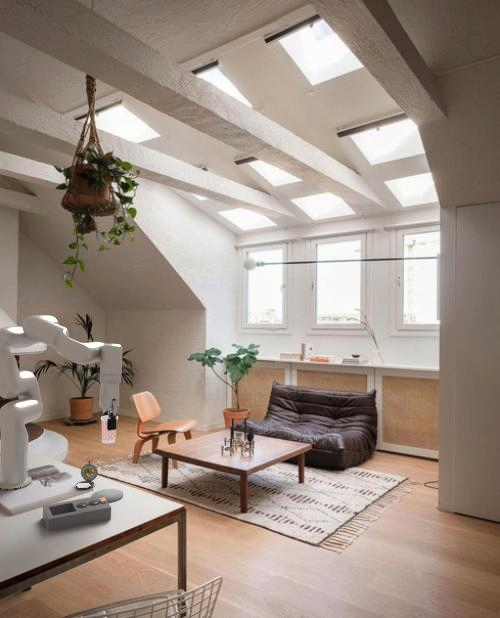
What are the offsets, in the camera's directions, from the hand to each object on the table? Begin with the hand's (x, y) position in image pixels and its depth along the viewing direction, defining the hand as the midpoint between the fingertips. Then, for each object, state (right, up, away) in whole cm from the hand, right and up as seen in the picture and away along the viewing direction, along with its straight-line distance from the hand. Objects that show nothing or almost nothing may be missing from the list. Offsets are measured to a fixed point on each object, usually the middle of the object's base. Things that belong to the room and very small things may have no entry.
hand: (109, 427), depth 174 cm
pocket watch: (-12, -25, +10) cm, 29 cm away
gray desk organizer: (-5, -25, -18) cm, 31 cm away
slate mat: (-1, -25, 0) cm, 25 cm away
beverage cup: (0, -5, 0) cm, 5 cm away
